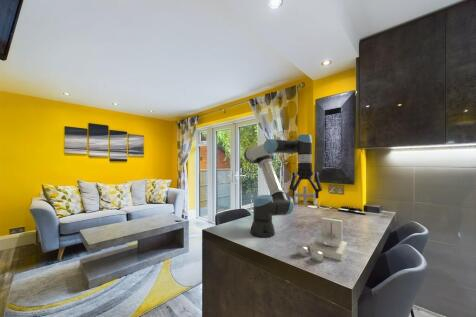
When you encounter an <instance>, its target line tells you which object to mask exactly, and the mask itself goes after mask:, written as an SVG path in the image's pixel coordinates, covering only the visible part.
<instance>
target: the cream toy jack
mask: <svg viewBox="0 0 476 317" xmlns="http://www.w3.org/2000/svg"><path fill="white" fill-rule="evenodd" d="M307 187H308V186H306V185H305V186H303V187H302V188H303V189H302V191H303V193H298V192H297V193H296V197H298V198H303V206H307V205H308V198H314V193H308V188H307Z"/></svg>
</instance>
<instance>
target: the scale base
mask: <svg viewBox="0 0 476 317" xmlns="http://www.w3.org/2000/svg"><path fill="white" fill-rule="evenodd" d="M343 227H344V226H343V220H341V219H334V218H329V217H321V234H324V235H329V236H334V237H339V238H342V242H341V244H340V246H339V247H335V246H331V245H327V244H322V243H318V242H314V241H313V242H312V243H311V244H310V246H309V253H311V254H312V249H318V250H321V251H323V257H326V258H329V259H333V260H337V261H343V258H344V256H345V254H346V252H347V248H348V241H344V239H343V236H344V235H343V233H344V231H343Z"/></svg>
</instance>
